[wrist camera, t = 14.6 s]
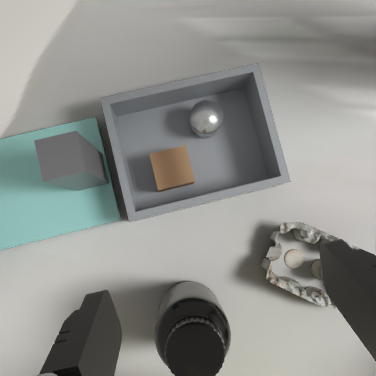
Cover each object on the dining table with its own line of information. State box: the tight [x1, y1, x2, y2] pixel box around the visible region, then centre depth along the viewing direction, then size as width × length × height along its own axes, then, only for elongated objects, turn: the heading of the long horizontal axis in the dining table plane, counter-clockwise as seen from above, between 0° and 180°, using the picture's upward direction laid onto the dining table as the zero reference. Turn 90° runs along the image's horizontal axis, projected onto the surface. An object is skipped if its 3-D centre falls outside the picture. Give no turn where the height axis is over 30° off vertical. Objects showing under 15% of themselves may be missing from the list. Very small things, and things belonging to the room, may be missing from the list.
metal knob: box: [189, 100, 223, 139], centre depth 37 cm, size 4×4×3 cm
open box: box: [100, 63, 291, 222], centre depth 37 cm, size 17×13×5 cm
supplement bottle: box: [155, 281, 231, 376], centre depth 32 cm, size 7×7×12 cm
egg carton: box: [261, 222, 360, 309], centre depth 37 cm, size 11×8×4 cm
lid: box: [0, 117, 121, 250], centre depth 33 cm, size 16×12×11 cm
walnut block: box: [149, 145, 195, 192], centre depth 37 cm, size 4×4×3 cm
